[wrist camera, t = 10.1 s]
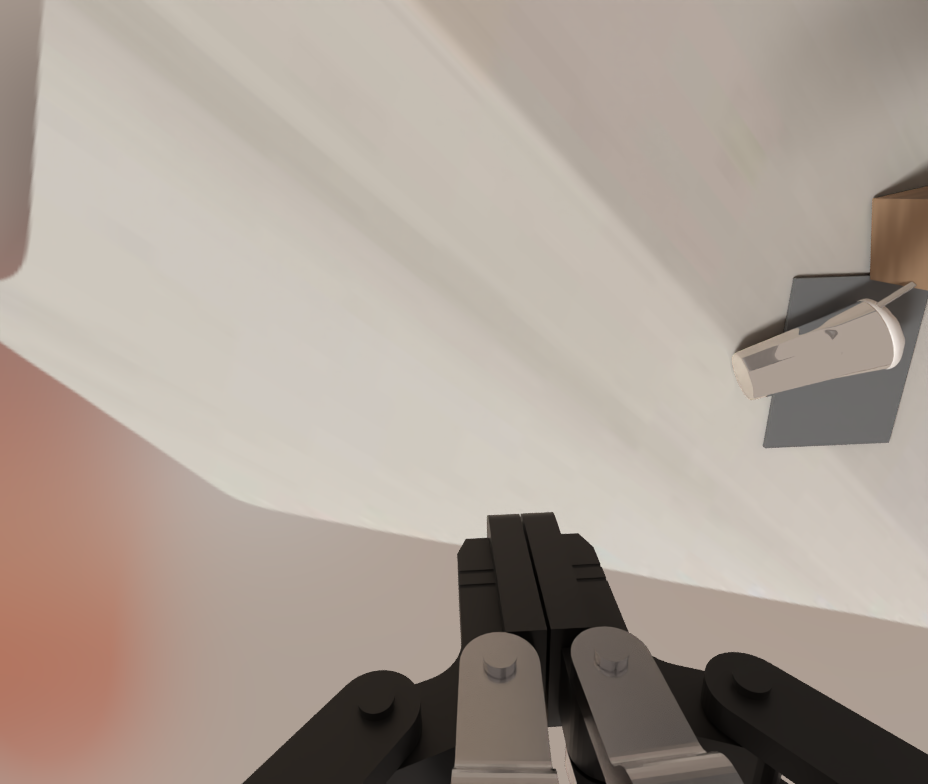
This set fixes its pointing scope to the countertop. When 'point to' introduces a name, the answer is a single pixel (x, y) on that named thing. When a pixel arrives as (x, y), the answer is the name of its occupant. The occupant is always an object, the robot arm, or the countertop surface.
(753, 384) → the milkshake
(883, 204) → the walnut block
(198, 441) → the countertop surface
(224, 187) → the countertop surface
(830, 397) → the mat
